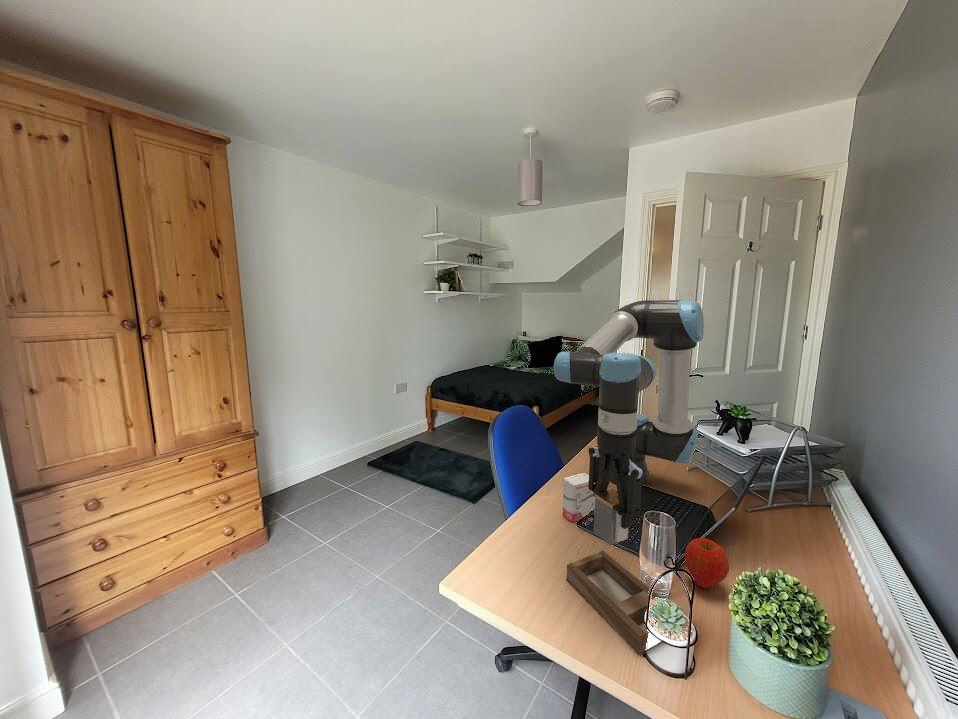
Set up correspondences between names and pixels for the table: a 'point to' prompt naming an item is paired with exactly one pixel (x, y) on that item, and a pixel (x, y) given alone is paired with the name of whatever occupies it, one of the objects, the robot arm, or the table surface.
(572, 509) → the ink box
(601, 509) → the square bit
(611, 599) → the block
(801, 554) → the table surface
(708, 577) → the apple
